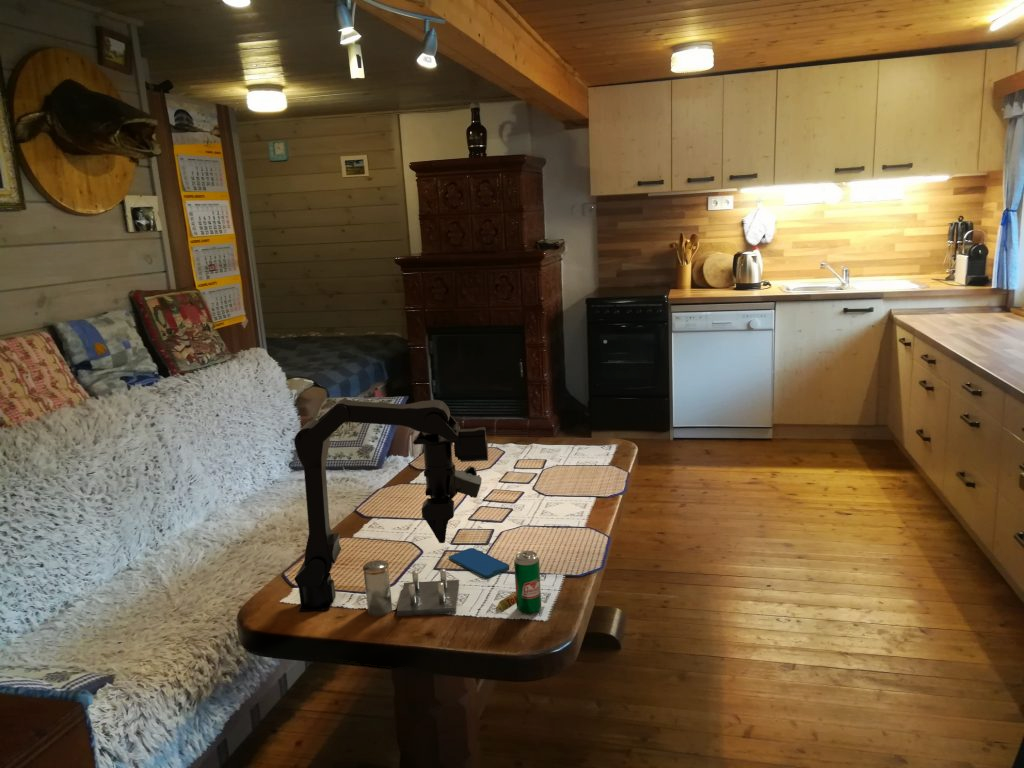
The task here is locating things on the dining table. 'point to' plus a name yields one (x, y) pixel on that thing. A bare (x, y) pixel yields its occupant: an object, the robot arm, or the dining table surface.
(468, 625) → the dining table surface
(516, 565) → the soda can
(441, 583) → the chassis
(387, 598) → the canister
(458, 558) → the smartphone
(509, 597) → the chocolate bar
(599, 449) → the dining table surface
